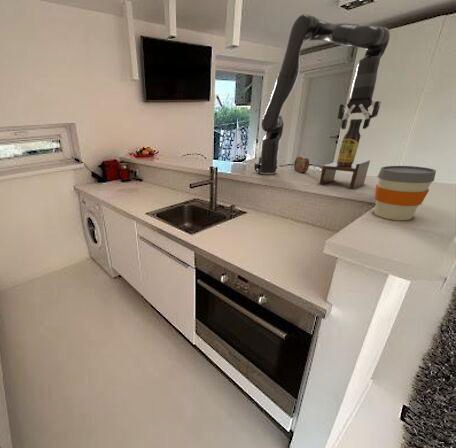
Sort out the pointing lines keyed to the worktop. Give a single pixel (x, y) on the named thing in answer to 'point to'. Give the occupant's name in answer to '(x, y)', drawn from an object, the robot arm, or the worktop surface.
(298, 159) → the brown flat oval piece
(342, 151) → the sauce bottle
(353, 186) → the shelf
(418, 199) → the reusable coffee cup
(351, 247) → the worktop surface
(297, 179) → the worktop surface
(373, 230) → the worktop surface
